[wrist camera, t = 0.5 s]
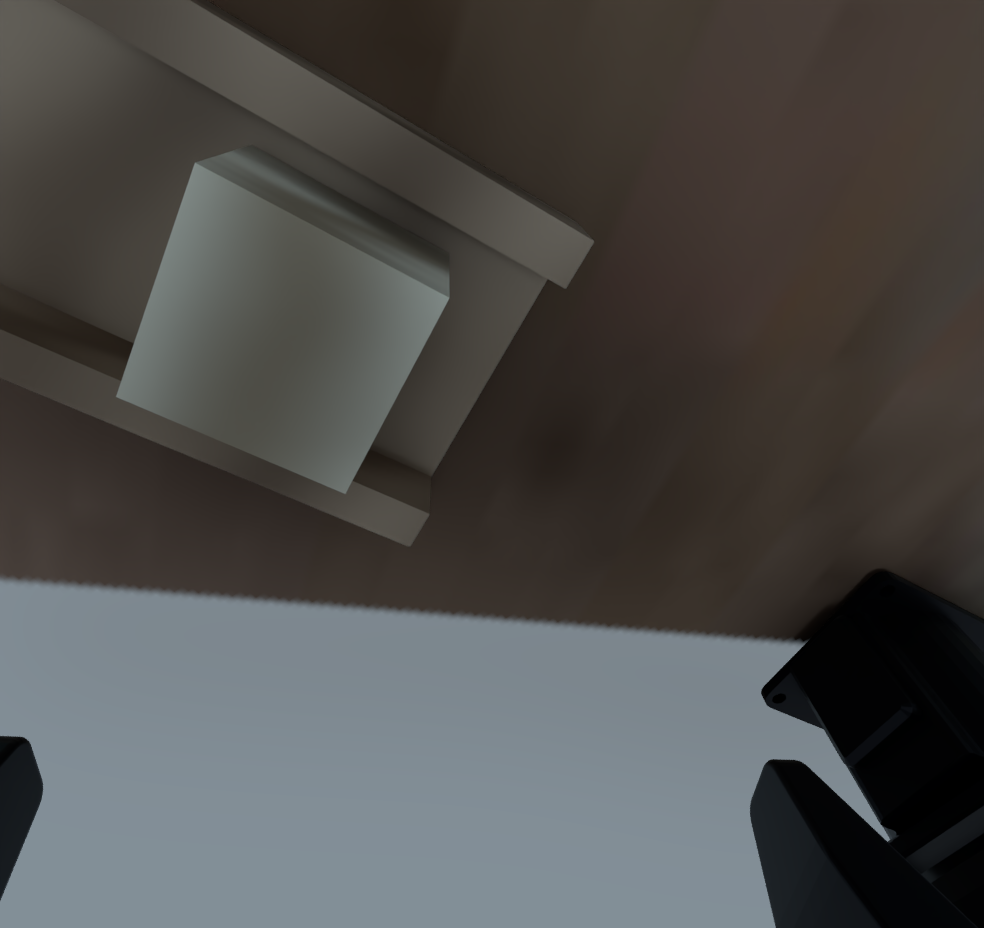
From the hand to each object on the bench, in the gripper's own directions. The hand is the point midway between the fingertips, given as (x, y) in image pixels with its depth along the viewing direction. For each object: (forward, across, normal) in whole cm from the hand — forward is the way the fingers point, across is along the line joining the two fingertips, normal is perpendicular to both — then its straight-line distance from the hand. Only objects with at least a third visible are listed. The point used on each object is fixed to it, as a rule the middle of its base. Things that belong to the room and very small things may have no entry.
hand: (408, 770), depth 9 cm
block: (+12, +3, -3) cm, 12 cm away
